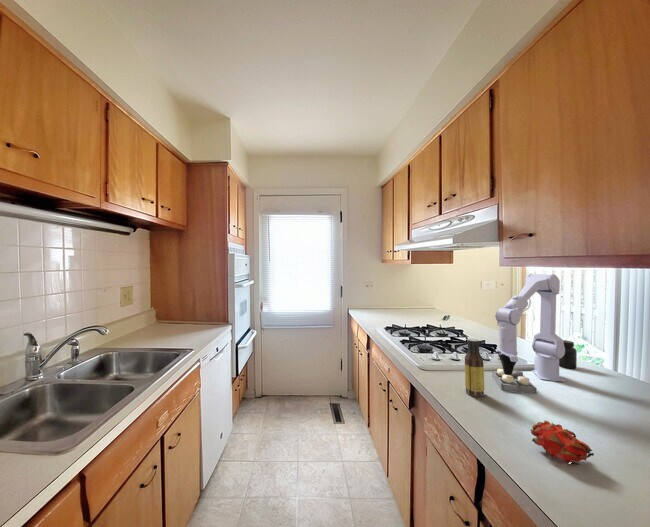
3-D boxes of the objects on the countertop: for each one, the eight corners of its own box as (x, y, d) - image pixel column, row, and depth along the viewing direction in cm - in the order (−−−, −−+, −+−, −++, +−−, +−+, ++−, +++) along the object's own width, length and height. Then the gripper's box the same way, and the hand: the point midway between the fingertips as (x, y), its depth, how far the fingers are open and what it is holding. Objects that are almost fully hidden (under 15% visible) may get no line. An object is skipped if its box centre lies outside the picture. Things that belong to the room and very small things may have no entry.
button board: (492, 377, 116) (492, 371, 116) (523, 380, 113) (522, 374, 113) (501, 390, 104) (501, 384, 104) (536, 394, 101) (536, 388, 101)
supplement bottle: (554, 365, 130) (554, 340, 130) (561, 363, 133) (561, 338, 133) (572, 370, 124) (572, 344, 124) (579, 368, 127) (579, 342, 127)
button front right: (501, 379, 109) (501, 374, 109) (511, 380, 107) (511, 375, 107) (503, 382, 105) (503, 377, 105) (514, 384, 104) (514, 378, 104)
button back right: (496, 373, 115) (496, 368, 115) (506, 374, 114) (506, 369, 114) (498, 376, 111) (498, 371, 111) (509, 377, 110) (509, 372, 110)
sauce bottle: (487, 394, 101) (487, 340, 101) (478, 399, 97) (478, 343, 97) (470, 388, 106) (470, 336, 106) (461, 392, 102) (461, 339, 103)
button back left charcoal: (510, 374, 113) (510, 369, 113) (520, 375, 112) (520, 370, 112) (513, 378, 110) (513, 373, 110) (524, 379, 109) (524, 374, 109)
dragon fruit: (526, 448, 73) (588, 480, 65) (524, 442, 68) (590, 476, 60) (535, 417, 76) (594, 444, 68) (533, 409, 71) (598, 437, 62)
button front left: (516, 380, 107) (516, 375, 107) (527, 382, 106) (527, 376, 106) (519, 384, 104) (519, 379, 104) (531, 386, 102) (531, 380, 102)
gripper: (490, 334, 115) (490, 366, 114) (501, 343, 101) (501, 380, 101) (510, 335, 112) (510, 368, 112) (524, 345, 99) (524, 383, 98)
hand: (507, 374), depth 106 cm, fingers closed
